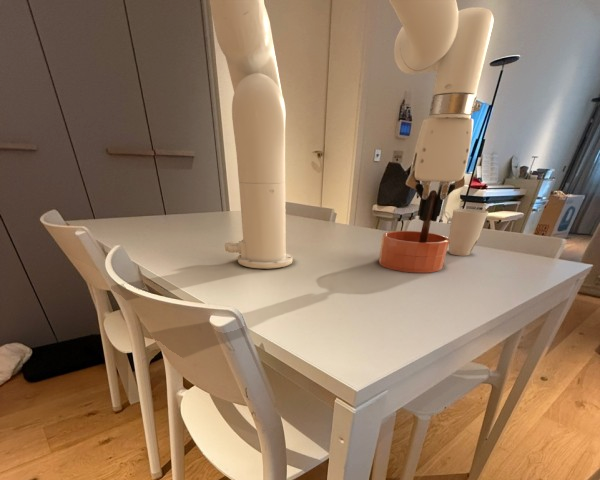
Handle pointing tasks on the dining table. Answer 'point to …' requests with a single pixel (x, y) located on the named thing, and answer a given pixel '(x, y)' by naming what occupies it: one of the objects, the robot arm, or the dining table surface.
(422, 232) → the brown peg stand
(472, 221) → the cup
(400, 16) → the robot arm
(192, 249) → the dining table surface
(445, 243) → the bowl
